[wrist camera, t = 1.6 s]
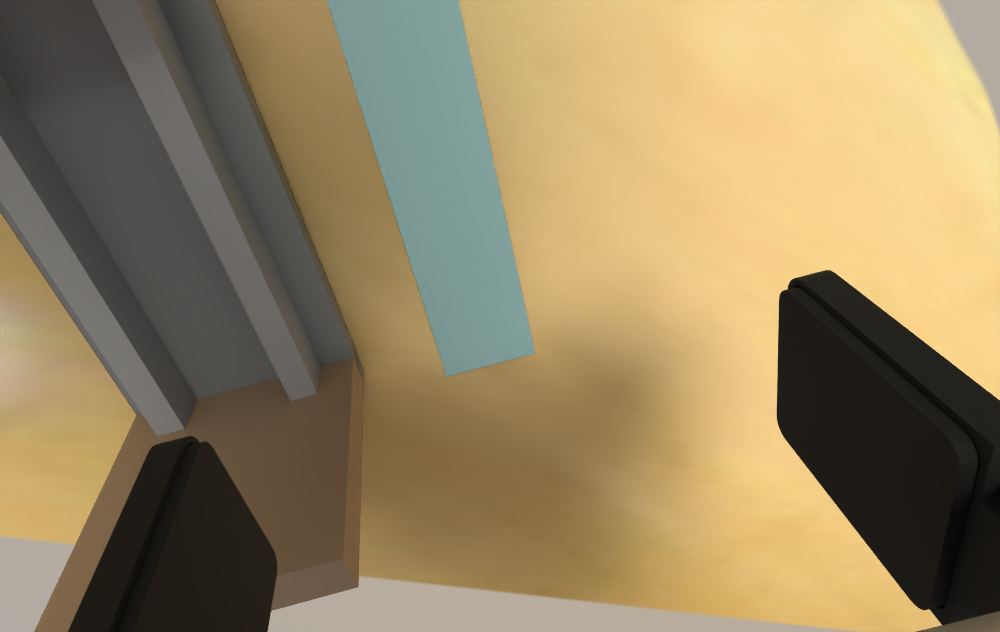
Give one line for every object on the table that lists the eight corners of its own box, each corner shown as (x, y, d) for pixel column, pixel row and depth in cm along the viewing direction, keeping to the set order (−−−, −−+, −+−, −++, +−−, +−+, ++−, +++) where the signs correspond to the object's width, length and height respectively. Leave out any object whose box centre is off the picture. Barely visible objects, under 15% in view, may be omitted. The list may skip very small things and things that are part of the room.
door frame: (-198, -119, 20) (-811, -150, 9) (135, -199, 20) (-116, -312, 10) (158, 425, 31) (55, 669, 21) (363, 371, 32) (358, 587, 22)
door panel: (334, -48, 23) (313, -26, 15) (424, -70, 23) (449, -60, 15) (425, 256, 29) (443, 377, 22) (496, 237, 29) (538, 352, 22)
